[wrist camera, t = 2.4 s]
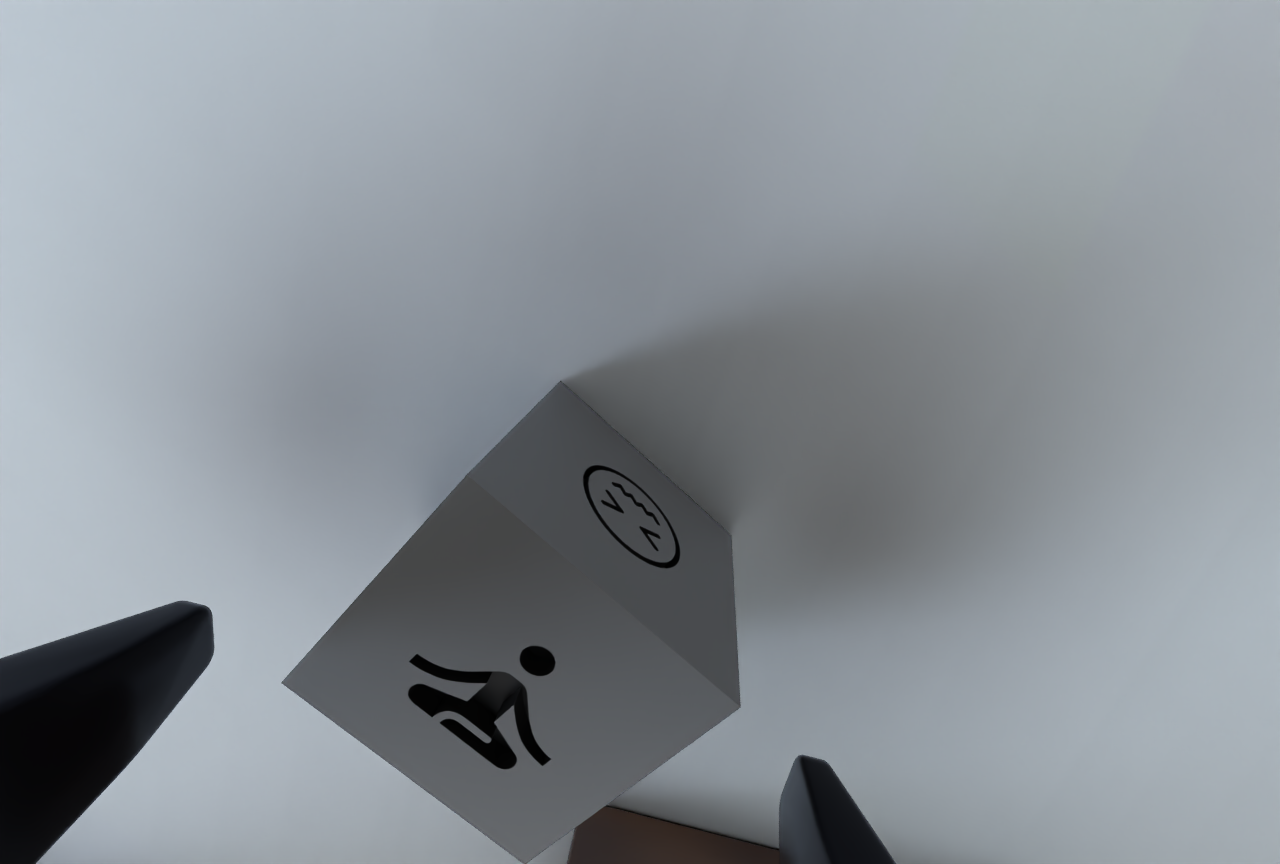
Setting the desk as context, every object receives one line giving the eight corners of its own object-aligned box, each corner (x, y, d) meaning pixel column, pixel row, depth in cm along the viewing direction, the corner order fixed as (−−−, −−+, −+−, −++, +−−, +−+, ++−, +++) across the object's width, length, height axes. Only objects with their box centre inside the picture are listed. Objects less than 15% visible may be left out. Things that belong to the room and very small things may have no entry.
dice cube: (426, 530, 14) (281, 682, 9) (560, 381, 12) (467, 475, 8) (585, 660, 15) (524, 864, 10) (731, 535, 13) (740, 706, 8)
